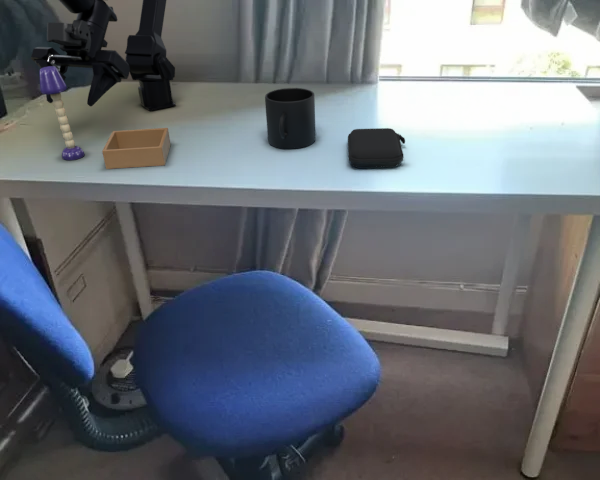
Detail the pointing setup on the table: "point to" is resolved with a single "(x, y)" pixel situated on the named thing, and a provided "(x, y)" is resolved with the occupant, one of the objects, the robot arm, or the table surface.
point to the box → (137, 148)
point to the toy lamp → (59, 108)
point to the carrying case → (375, 148)
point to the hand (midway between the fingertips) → (68, 103)
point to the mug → (290, 117)
